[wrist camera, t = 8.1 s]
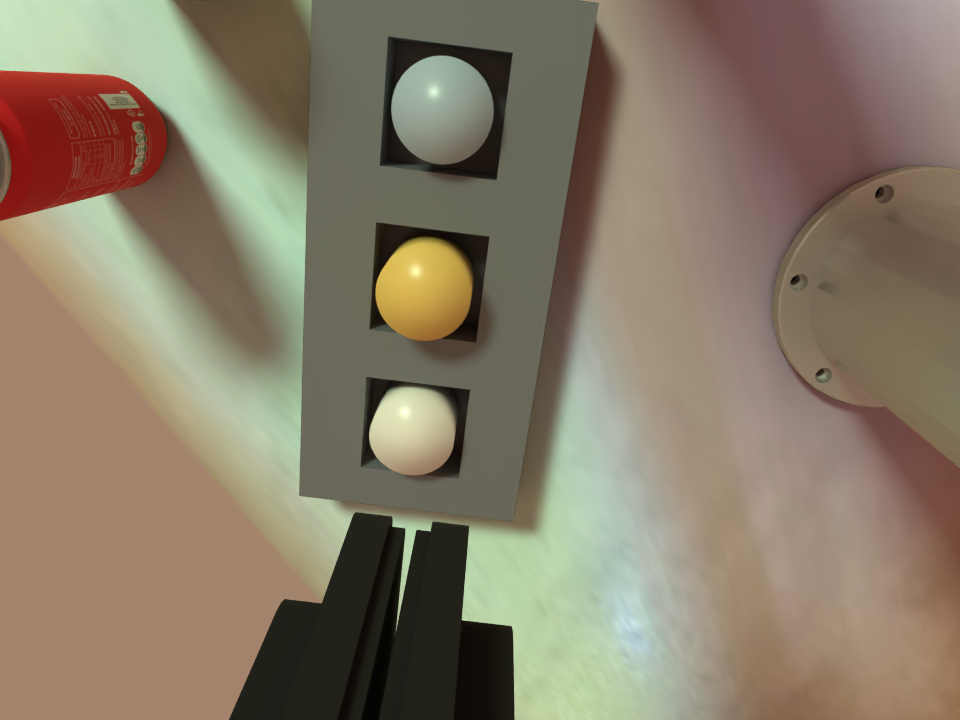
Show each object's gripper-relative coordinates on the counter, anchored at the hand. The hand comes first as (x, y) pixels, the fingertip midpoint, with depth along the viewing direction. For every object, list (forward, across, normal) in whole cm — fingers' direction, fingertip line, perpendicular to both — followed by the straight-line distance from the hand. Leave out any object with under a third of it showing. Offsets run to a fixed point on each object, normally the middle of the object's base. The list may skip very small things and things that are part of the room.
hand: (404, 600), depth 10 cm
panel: (+27, +2, +2) cm, 27 cm away
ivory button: (+26, +2, +10) cm, 28 cm away
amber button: (+25, +2, +2) cm, 26 cm away
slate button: (+27, +2, -6) cm, 27 cm away
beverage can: (+27, +18, -3) cm, 33 cm away
